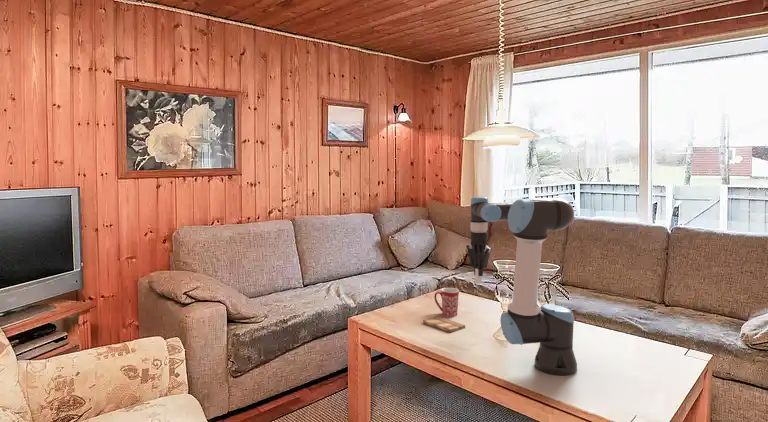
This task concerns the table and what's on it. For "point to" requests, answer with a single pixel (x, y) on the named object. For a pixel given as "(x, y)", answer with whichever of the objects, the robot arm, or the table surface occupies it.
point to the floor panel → (449, 323)
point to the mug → (448, 301)
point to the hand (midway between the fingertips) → (478, 282)
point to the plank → (441, 324)
